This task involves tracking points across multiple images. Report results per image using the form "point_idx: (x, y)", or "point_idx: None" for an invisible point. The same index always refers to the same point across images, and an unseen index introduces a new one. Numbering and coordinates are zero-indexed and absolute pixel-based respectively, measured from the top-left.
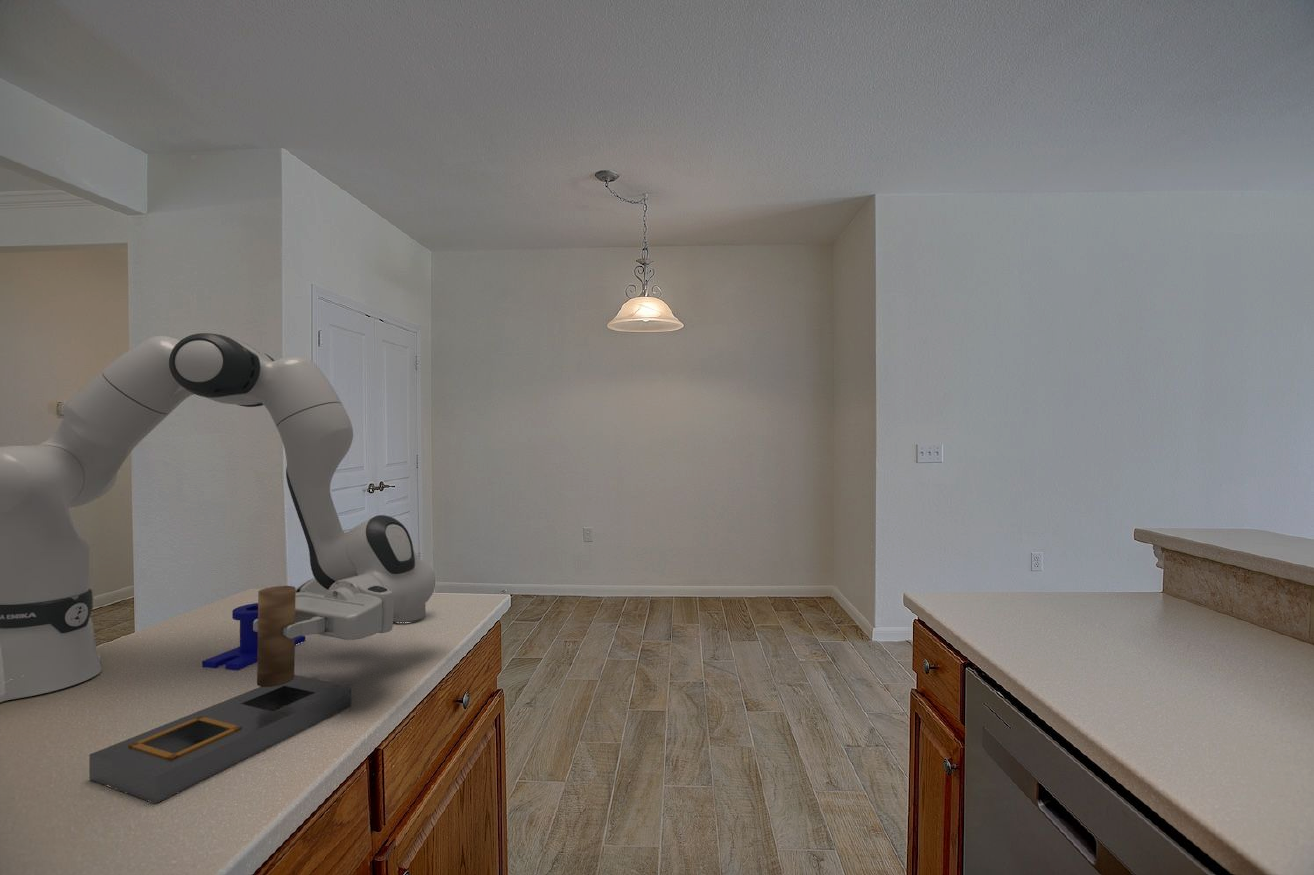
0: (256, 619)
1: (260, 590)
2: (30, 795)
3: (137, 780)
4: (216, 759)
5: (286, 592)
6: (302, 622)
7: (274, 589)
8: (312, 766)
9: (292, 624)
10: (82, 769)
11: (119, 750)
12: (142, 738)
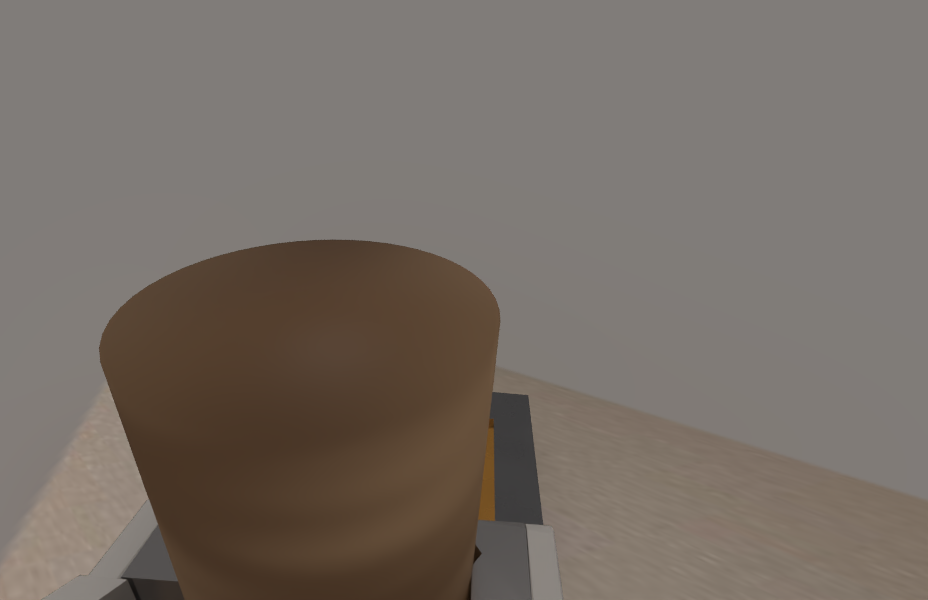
0: (544, 530)
1: (463, 273)
2: (551, 395)
3: None
4: None
5: (159, 287)
6: (72, 586)
7: (363, 306)
8: (42, 577)
9: (157, 527)
10: (579, 448)
11: (493, 412)
12: (507, 446)
